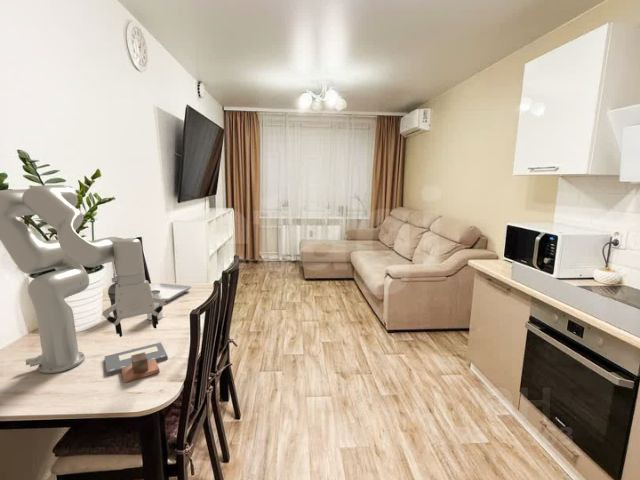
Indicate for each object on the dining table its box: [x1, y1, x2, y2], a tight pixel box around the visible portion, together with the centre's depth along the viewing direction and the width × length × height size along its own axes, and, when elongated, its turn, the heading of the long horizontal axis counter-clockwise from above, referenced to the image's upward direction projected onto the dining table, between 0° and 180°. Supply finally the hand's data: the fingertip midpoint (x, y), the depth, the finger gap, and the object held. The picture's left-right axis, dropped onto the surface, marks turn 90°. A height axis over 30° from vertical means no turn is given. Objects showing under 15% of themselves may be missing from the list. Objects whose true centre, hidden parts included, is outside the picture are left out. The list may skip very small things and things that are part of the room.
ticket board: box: [104, 342, 169, 377], centre depth 120 cm, size 18×12×1 cm, turn 125°
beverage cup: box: [107, 273, 118, 318], centre depth 155 cm, size 7×7×20 cm
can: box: [146, 290, 164, 321], centre depth 154 cm, size 6×6×12 cm
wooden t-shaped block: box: [121, 352, 160, 383], centre depth 111 cm, size 10×7×5 cm
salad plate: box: [150, 282, 192, 302], centre depth 184 cm, size 21×21×3 cm
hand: (138, 331), depth 109 cm, fingers open, 9 cm apart
